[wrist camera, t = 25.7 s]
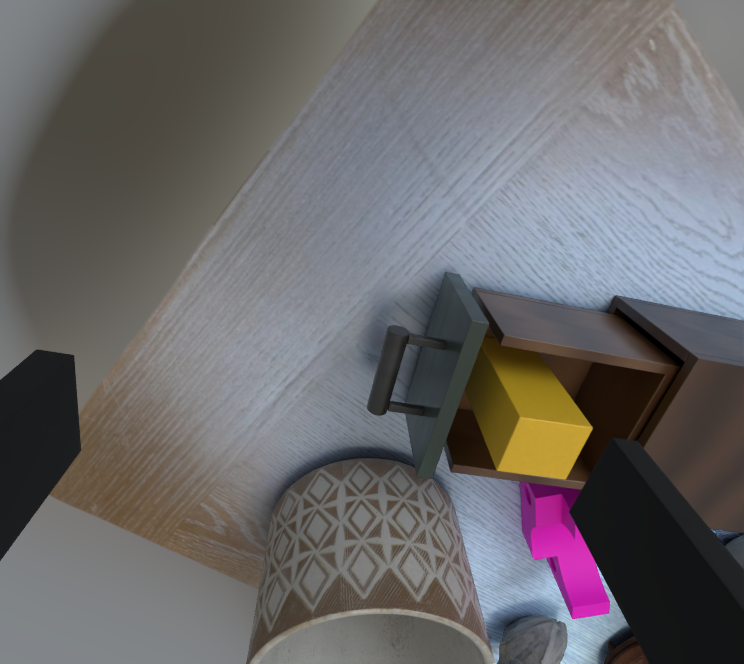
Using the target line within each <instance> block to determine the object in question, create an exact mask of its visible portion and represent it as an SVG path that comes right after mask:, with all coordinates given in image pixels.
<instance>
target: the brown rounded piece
mask: <svg viewBox="0 0 744 664" xmlns="http://www.w3.org/2000/svg"><path fill="white" fill-rule="evenodd" d="M608 648H609V652H610V654H609V655H608V657H607V658H606V660H605V662H604V664H649V662H648V661H647V659H646V657H645V655H644V653H643V651H642V649H641V647H640V645H639V644H638V642H637V640H636V638H635V636H634V637H632V638H630V639H628V640H626V641H624V642H623V643H621V644H620V645H619V646H617V647H616V646H615V644H614V643H613V642H611V641H609V642H608Z"/></svg>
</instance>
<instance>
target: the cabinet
mask: <svg viewBox="0 0 744 664" xmlns="http://www.w3.org/2000/svg"><path fill="white" fill-rule="evenodd" d="M608 313H609V314H614V315H619V316H620V317H621V318H622V319H624V320H625V321H626V322H628V323H629V324H630V325H631V326H632V327H634V328H635V329H636V330H637V331H638V332H640V333H641V334H642V335H643V336H644V337H646V338H647V339H648V340H649V341H650V342H652V343H653V344H654V345H655V346H656V347H658V348H659V349H660V350H661V351H663V352H664V353H665V354H666V355H667V356H669V357H670V358H671V359H672V360H673V361H675V362H676V363H677V364H678V365H679V366H681V368H680V370H679V372H678V373H677V375H676V376H675V378H674V380H673V381H672V383H671V385H670V386H669V388H668V390H667V391H666V393H665V395H664V396H663V398H662V400H661V401H660V403H659V405H658V406H657V408H656V410H655V411H654V413H653V414H652V416H651V418H650V419H649V421H648V423H647V424H646V426H645V428H644V429H643V431H642V433H641V434H640V436H639V438H638V439H637V441H638V442H639V443H640V445H641V446H642V447H643V448H644V450H645V451H646V452H647V453H648V454H649V456H650V457H651V458H652V459H653V460H654V462H655V463H656V464H657V465H658V466H659V468H660V469H661V470H662V471H663V472H664V474H665V475H666V476H667V477H668V478H669V480H670V481H671V482H672V483H673V485H674V486H675V487H676V488H677V489H678V491H679V492H680V493H681V494H682V495H683V497H684V498H685V499H686V500H687V501H688V503H689V504H690V505H691V506H692V507H693V509H694V510H695V511H696V512H697V513H698V515H699V516H700V517H701V518H702V520H703V521H704V522H705V523H706V524H707V526H708V527H709V528H710V529H716V530H724V531H732V532H740V533H744V321H741V320H736V319H731V318H726V317H721V316H716V315H711V314H706V313H701V312H696V311H691V310H686V309H682V308H677V307H672V306H667V305H662V304H657V303H652V302H647V301H642V300H637V299H632V298H627V297H622V296H615V298H614V300H613V302H612V304H611V306H610V308H609V310H608Z"/></svg>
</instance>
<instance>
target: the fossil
mask: <svg viewBox="0 0 744 664" xmlns="http://www.w3.org/2000/svg"><path fill="white" fill-rule="evenodd" d="M566 647H567V629H566V625H565V623H563V622H561V621H559V622H557V620H556V619H554V618H549V617H545V616H536V615H535V616H526V617H523V618H520V619H518V620H517V621H515V622H513V623H511V624H510V625H508V627H507V628H506V629H505V630H504V631H503V634H502V639H501V642H500V645H499V661H498V663H497V664H560V662H561V660H562V658H563V656H564V652H565V650H566Z"/></svg>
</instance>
